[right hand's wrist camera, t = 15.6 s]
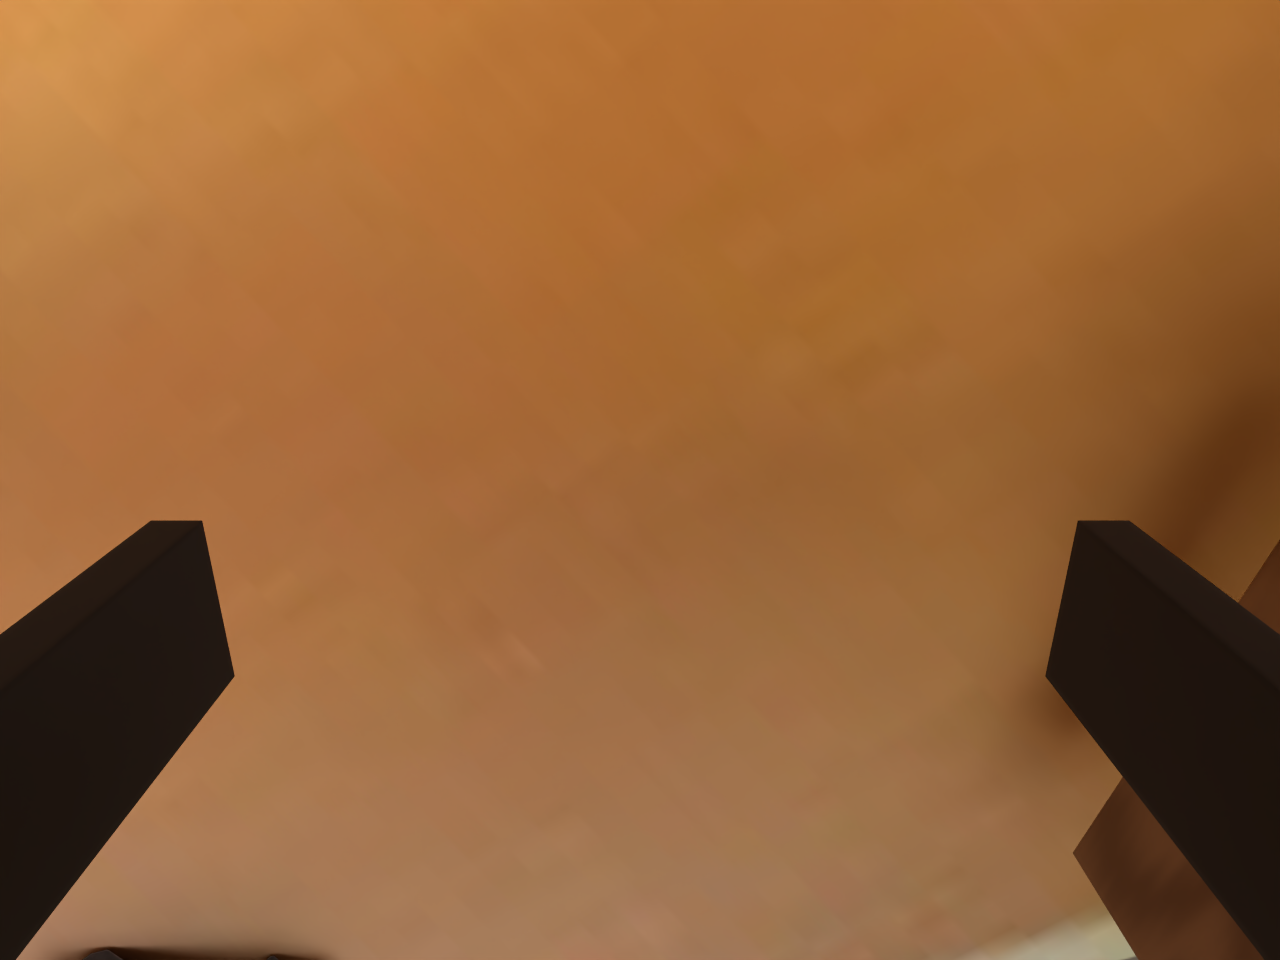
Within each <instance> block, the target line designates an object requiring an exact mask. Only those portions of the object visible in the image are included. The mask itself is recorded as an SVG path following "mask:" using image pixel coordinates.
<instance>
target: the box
mask: <svg viewBox="0 0 1280 960" xmlns="http://www.w3.org/2000/svg"><path fill="white" fill-rule="evenodd" d="M1238 603H1239V604H1240V605H1241V606H1243V607H1244V608H1245V609H1247V610H1248V611H1249V612H1251V613H1252V614H1253V615H1255V616H1256V617H1257V618H1258V619H1260V620H1261V621H1262V622H1264V623H1265V624H1266V625H1268V626H1269V627H1270V628H1272V629H1273V630H1274V631H1276V632H1277V633H1278V634H1280V540H1279V542H1278V543H1277V545H1276V546H1275V548H1274V549H1273V551H1272V552H1271V554H1270V555H1269V557H1268V558H1267V560H1266V561H1265V563H1264V564H1263V566H1262V567H1261V569H1260V571H1259V572H1258V574H1257V575H1256V577H1255V578H1254V580H1253V581H1252V583H1251V584H1250V586H1249V587H1248V589H1247V590H1246V592H1245V593H1244V595H1243V596H1242V598H1241V599H1240V601H1239V602H1238ZM1073 854H1074V856H1075V857H1076V859H1077V861H1078V862H1079V864H1080V866H1081V867H1082V869H1083V870H1084V872H1085V874H1086V875H1087V877H1088V879H1089V880H1090V882H1091V883H1092V885H1093V887H1094V888H1095V890H1096V892H1097V893H1098V895H1099V896H1100V898H1101V900H1102V901H1103V903H1104V905H1105V906H1106V908H1107V909H1108V911H1109V913H1110V914H1111V916H1112V918H1113V919H1114V921H1115V922H1116V924H1117V926H1118V927H1119V929H1120V931H1121V932H1122V934H1123V935H1124V937H1125V939H1126V940H1127V942H1128V944H1129V945H1130V947H1131V948H1132V950H1133V952H1134V953H1135V955H1136V957H1137V958H1138V960H1264V959H1263V957H1262V956H1261V955H1260V954H1259V952H1258V951H1257V950H1256V948H1255V947H1254V946H1253V944H1252V943H1251V942H1250V941H1249V939H1248V938H1247V937H1246V935H1245V934H1244V933H1243V931H1242V930H1241V929H1240V928H1239V926H1238V925H1237V924H1236V922H1235V921H1234V920H1233V919H1232V917H1231V916H1230V915H1229V913H1228V912H1227V911H1226V909H1225V908H1224V907H1223V906H1222V904H1221V903H1220V902H1219V900H1218V899H1217V898H1216V897H1215V895H1214V894H1213V893H1212V891H1211V890H1210V889H1209V887H1208V886H1207V885H1206V884H1205V882H1204V881H1203V880H1202V878H1201V877H1200V876H1199V874H1198V873H1197V872H1196V871H1195V869H1194V868H1193V867H1192V865H1191V864H1190V863H1189V862H1188V860H1187V859H1186V858H1185V856H1184V855H1183V854H1182V852H1181V851H1180V850H1179V849H1178V847H1177V846H1176V845H1175V843H1174V842H1173V841H1172V840H1171V838H1170V837H1169V836H1168V834H1167V833H1166V832H1165V830H1164V829H1163V828H1162V827H1161V825H1160V824H1159V823H1158V821H1157V820H1156V819H1155V817H1154V816H1153V815H1152V814H1151V812H1150V811H1149V810H1148V808H1147V807H1146V806H1145V805H1144V803H1143V802H1142V801H1141V799H1140V798H1139V797H1138V795H1137V794H1136V793H1135V792H1134V790H1133V789H1132V788H1131V786H1130V785H1129V784H1128V783H1127V781H1126V780H1125V779H1124V777H1123V778H1122V779H1121V781H1120V782H1119V784H1118V785H1117V787H1116V788H1115V790H1114V791H1113V793H1112V794H1111V796H1110V797H1109V799H1108V800H1107V802H1106V803H1105V805H1104V806H1103V808H1102V809H1101V811H1100V812H1099V814H1098V815H1097V817H1096V818H1095V820H1094V821H1093V823H1092V825H1091V826H1090V828H1089V829H1088V831H1087V832H1086V834H1085V835H1084V837H1083V838H1082V840H1081V841H1080V843H1079V844H1078V846H1077V847H1076V849H1075V850H1074V852H1073Z"/></svg>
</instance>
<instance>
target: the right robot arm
mask: <svg viewBox="0 0 1280 960" xmlns="http://www.w3.org/2000/svg"><path fill="white" fill-rule="evenodd" d="M233 678H234V671H233V666H232V662H231V657H230V652H229V647H228V642H227V638H226V633H225V628H224V623H223V618H222V614H221V609H220V604H219V599H218V594H217V590H216V585H215V580H214V575H213V571H212V566H211V561H210V556H209V551H208V547H207V542H206V537H205V532H204V527H203V523H202V521H150V522H149V523H147V524H146V525H145V526H143V527H142V528H141V529H139V530H138V531H137V532H135V533H134V534H133V535H131V536H130V537H129V538H127V539H126V540H125V541H123V542H122V543H121V544H119V545H118V546H117V547H115V548H114V549H113V550H111V551H110V552H109V553H108V554H106V555H105V556H104V557H102V558H101V559H100V560H98V561H97V562H96V563H94V564H93V565H92V566H90V567H89V568H88V569H86V570H85V571H84V572H82V573H81V574H80V575H78V576H77V577H76V578H74V579H73V580H72V581H70V582H69V583H68V584H67V585H65V586H64V587H63V588H61V589H60V590H59V591H57V592H56V593H55V594H53V595H52V596H51V597H49V598H48V599H47V600H45V601H44V602H43V603H41V604H40V605H39V606H37V607H36V608H35V609H33V610H32V611H31V612H29V613H28V614H27V615H25V616H24V617H23V618H22V619H20V620H19V621H18V622H16V623H15V624H14V625H12V626H11V627H10V628H8V629H7V630H6V631H4V632H3V633H2V634H0V960H16V959H17V957H18V956H19V955H20V954H21V952H22V951H23V950H24V948H25V947H26V946H27V944H28V943H29V942H30V941H31V939H32V938H33V937H34V935H35V934H36V933H37V931H38V930H39V929H40V928H41V926H42V925H43V924H44V922H45V921H46V920H47V919H48V917H49V916H50V915H51V913H52V912H53V911H54V909H55V908H56V907H57V906H58V904H59V903H60V902H61V900H62V899H63V898H64V897H65V895H66V894H67V893H68V891H69V890H70V889H71V887H72V886H73V885H74V884H75V882H76V881H77V880H78V878H79V877H80V876H81V874H82V873H83V872H84V871H85V869H86V868H87V867H88V865H89V864H90V863H91V862H92V860H93V859H94V858H95V856H96V855H97V854H98V852H99V851H100V850H101V849H102V847H103V846H104V845H105V843H106V842H107V841H108V840H109V838H110V837H111V836H112V834H113V833H114V832H115V830H116V829H117V828H118V827H119V825H120V824H121V823H122V821H123V820H124V819H125V817H126V816H127V815H128V814H129V812H130V811H131V810H132V808H133V807H134V806H135V805H136V803H137V802H138V801H139V799H140V798H141V797H142V795H143V794H144V793H145V792H146V790H147V789H148V788H149V786H150V785H151V784H152V783H153V781H154V780H155V779H156V777H157V776H158V775H159V773H160V772H161V771H162V770H163V768H164V767H165V766H166V764H167V763H168V762H169V760H170V759H171V758H172V757H173V755H174V754H175V753H176V751H177V750H178V749H179V748H180V746H181V745H182V744H183V742H184V741H185V740H186V738H187V737H188V736H189V735H190V733H191V732H192V731H193V729H194V728H195V727H196V726H197V724H198V723H199V722H200V720H201V719H202V718H203V716H204V715H205V714H206V713H207V711H208V710H209V709H210V707H211V706H212V705H213V703H214V702H215V701H216V700H217V698H218V697H219V696H220V694H221V693H222V692H223V691H224V689H225V688H226V687H227V685H228V684H229V683H230V681H231V680H232V679H233ZM1046 678H1047V679H1048V680H1049V681H1050V683H1051V684H1052V685H1053V687H1054V688H1055V689H1056V691H1057V692H1058V693H1059V694H1060V696H1061V697H1062V698H1063V700H1064V701H1065V702H1066V703H1067V705H1068V706H1069V707H1070V709H1071V710H1072V711H1073V713H1074V714H1075V715H1076V716H1077V718H1078V719H1079V720H1080V722H1081V723H1082V724H1083V726H1084V727H1085V728H1086V729H1087V731H1088V732H1089V733H1090V735H1091V736H1092V737H1093V738H1094V740H1095V741H1096V742H1097V744H1098V745H1099V746H1100V748H1101V749H1102V750H1103V751H1104V753H1105V754H1106V755H1107V757H1108V758H1109V759H1110V760H1111V762H1112V763H1113V764H1114V766H1115V767H1116V768H1117V770H1118V771H1119V772H1120V773H1121V775H1122V776H1123V777H1124V779H1125V780H1126V781H1127V783H1128V784H1129V785H1130V786H1131V788H1132V789H1133V790H1134V792H1135V793H1136V794H1137V795H1138V797H1139V798H1140V799H1141V801H1142V802H1143V803H1144V805H1145V806H1146V807H1147V808H1148V810H1149V811H1150V812H1151V814H1152V815H1153V816H1154V817H1155V819H1156V820H1157V821H1158V823H1159V824H1160V825H1161V827H1162V828H1163V829H1164V830H1165V832H1166V833H1167V834H1168V836H1169V837H1170V838H1171V840H1172V841H1173V842H1174V843H1175V845H1176V846H1177V847H1178V849H1179V850H1180V851H1181V852H1182V854H1183V855H1184V856H1185V858H1186V859H1187V860H1188V862H1189V863H1190V864H1191V865H1192V867H1193V868H1194V869H1195V871H1196V872H1197V873H1198V874H1199V876H1200V877H1201V878H1202V880H1203V881H1204V882H1205V884H1206V885H1207V886H1208V887H1209V889H1210V890H1211V891H1212V893H1213V894H1214V895H1215V897H1216V898H1217V899H1218V900H1219V902H1220V903H1221V904H1222V906H1223V907H1224V908H1225V909H1226V911H1227V912H1228V913H1229V915H1230V916H1231V917H1232V919H1233V920H1234V921H1235V922H1236V924H1237V925H1238V926H1239V928H1240V929H1241V930H1242V931H1243V933H1244V934H1245V935H1246V937H1247V938H1248V939H1249V941H1250V942H1251V943H1252V944H1253V946H1254V947H1255V948H1256V950H1257V951H1258V952H1259V954H1260V955H1261V956H1262V957H1263V959H1264V960H1280V634H1278V633H1277V632H1276V631H1274V630H1273V629H1272V628H1270V627H1269V626H1268V625H1266V624H1265V623H1264V622H1262V621H1261V620H1260V619H1258V618H1257V617H1256V616H1255V615H1253V614H1252V613H1251V612H1249V611H1248V610H1247V609H1245V608H1244V607H1243V606H1241V605H1240V604H1239V603H1237V602H1236V601H1235V600H1233V599H1232V598H1231V597H1229V596H1228V595H1227V594H1225V593H1224V592H1223V591H1221V590H1220V589H1219V588H1217V587H1216V586H1215V585H1213V584H1212V583H1211V582H1210V581H1208V580H1207V579H1206V578H1204V577H1203V576H1202V575H1200V574H1199V573H1198V572H1196V571H1195V570H1194V569H1192V568H1191V567H1190V566H1188V565H1187V564H1186V563H1184V562H1183V561H1182V560H1180V559H1179V558H1178V557H1176V556H1175V555H1174V554H1172V553H1171V552H1170V551H1169V550H1167V549H1166V548H1165V547H1163V546H1162V545H1161V544H1159V543H1158V542H1157V541H1155V540H1154V539H1153V538H1151V537H1150V536H1149V535H1147V534H1146V533H1145V532H1143V531H1142V530H1141V529H1139V528H1138V527H1137V526H1135V525H1134V524H1133V523H1131V522H1130V521H1078V523H1077V527H1076V532H1075V537H1074V542H1073V547H1072V551H1071V556H1070V561H1069V566H1068V571H1067V575H1066V580H1065V585H1064V590H1063V594H1062V599H1061V604H1060V609H1059V614H1058V618H1057V623H1056V628H1055V633H1054V638H1053V642H1052V647H1051V652H1050V657H1049V662H1048V666H1047V671H1046Z"/></svg>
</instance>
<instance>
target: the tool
mask: <svg viewBox="0 0 1280 960" xmlns="http://www.w3.org/2000/svg"><path fill="white" fill-rule="evenodd" d="M83 960H123V959H121V958H120V957H118V956H117V955H115V954H114V953H112V952H111V951H109V950H108V949H107V950H103V951H99V952H95V953H91V954H90V955H88V956H87V957H85V958H84V959H83ZM267 960H278V959H277V958H276V957H275V956H270V957H269V958H268V959H267Z"/></svg>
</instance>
